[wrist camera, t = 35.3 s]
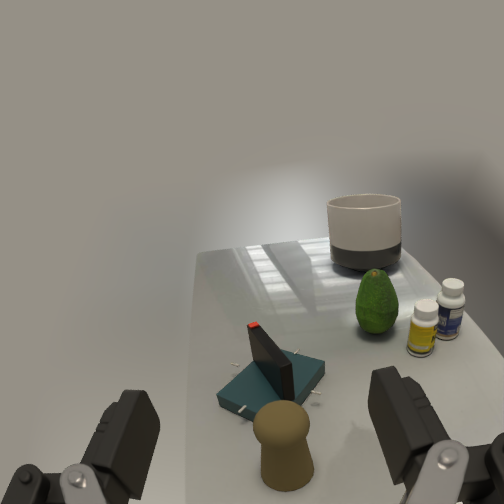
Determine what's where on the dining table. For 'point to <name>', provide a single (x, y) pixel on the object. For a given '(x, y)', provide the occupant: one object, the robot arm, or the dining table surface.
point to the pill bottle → (450, 308)
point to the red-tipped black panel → (272, 362)
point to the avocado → (376, 302)
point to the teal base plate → (269, 386)
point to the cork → (284, 445)
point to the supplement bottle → (423, 328)
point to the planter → (365, 231)
